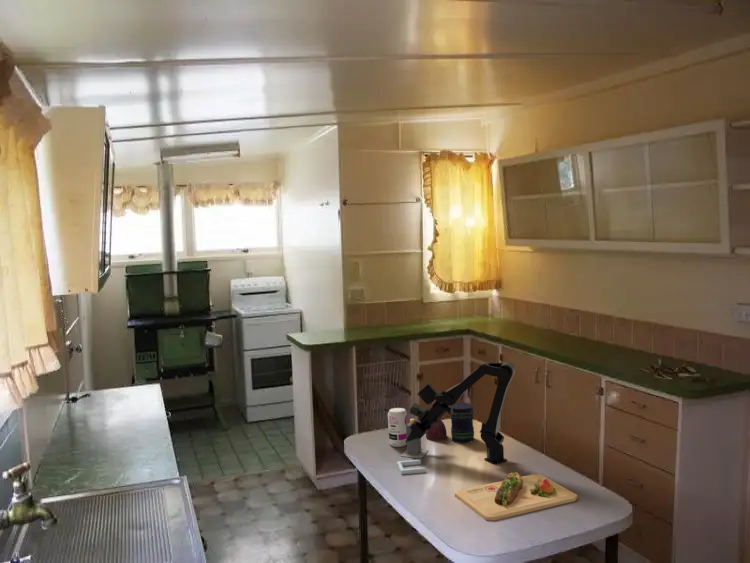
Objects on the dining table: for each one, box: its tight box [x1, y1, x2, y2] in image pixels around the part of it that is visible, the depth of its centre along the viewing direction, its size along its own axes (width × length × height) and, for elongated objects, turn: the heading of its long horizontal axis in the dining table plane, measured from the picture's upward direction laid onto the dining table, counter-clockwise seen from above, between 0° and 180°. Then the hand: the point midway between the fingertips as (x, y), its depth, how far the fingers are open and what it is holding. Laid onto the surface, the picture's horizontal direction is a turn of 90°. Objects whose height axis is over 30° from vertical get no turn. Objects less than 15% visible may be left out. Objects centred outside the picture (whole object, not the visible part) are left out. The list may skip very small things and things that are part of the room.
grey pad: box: [400, 449, 429, 459], centre depth 267 cm, size 9×9×1 cm
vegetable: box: [425, 417, 448, 441], centre depth 285 cm, size 10×9×14 cm
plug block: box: [406, 418, 422, 455], centre depth 267 cm, size 4×4×14 cm
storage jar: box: [449, 402, 475, 444], centre depth 281 cm, size 10×10×15 cm
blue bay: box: [396, 458, 426, 475], centre depth 251 cm, size 9×10×2 cm
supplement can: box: [387, 407, 408, 448], centre depth 279 cm, size 8×8×15 cm
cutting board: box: [454, 471, 578, 521], centre depth 220 cm, size 35×23×8 cm
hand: (410, 437), depth 267 cm, fingers open, 8 cm apart
